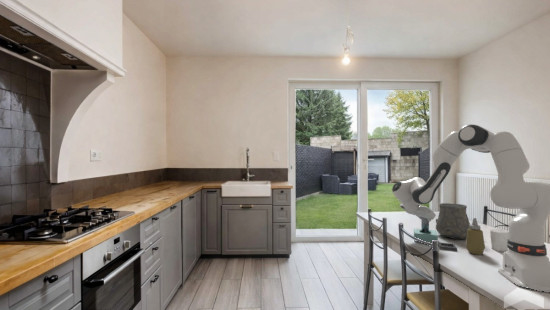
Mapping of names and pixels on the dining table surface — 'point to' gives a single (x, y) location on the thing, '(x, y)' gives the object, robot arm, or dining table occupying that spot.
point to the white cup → (499, 239)
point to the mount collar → (453, 247)
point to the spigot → (424, 225)
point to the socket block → (425, 235)
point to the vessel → (452, 221)
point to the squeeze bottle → (475, 239)
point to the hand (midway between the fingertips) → (426, 219)
